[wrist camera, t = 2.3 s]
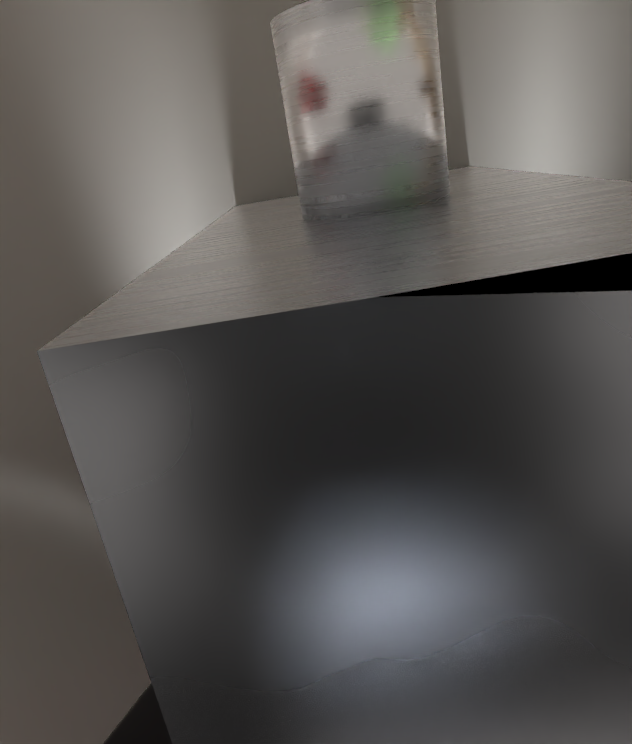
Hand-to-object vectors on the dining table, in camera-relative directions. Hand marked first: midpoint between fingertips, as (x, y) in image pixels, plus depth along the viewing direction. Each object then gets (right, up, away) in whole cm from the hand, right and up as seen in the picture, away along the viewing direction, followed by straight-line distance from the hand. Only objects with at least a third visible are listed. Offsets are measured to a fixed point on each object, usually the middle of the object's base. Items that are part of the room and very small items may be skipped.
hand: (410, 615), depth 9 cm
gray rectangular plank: (0, 0, +1) cm, 1 cm away
